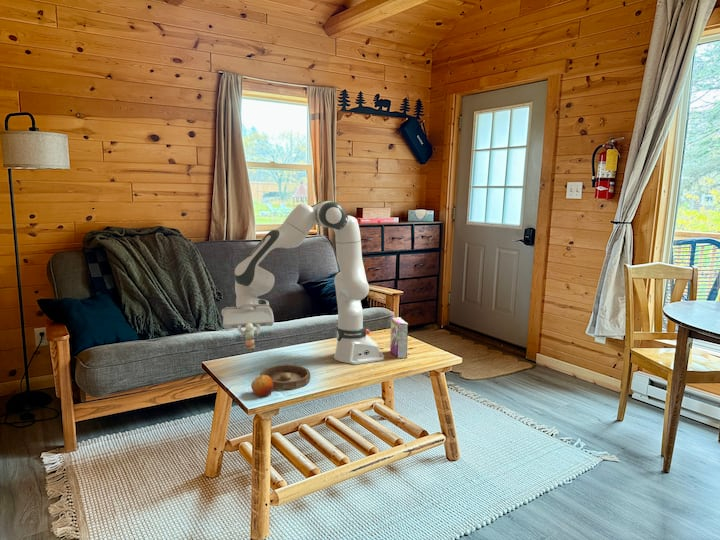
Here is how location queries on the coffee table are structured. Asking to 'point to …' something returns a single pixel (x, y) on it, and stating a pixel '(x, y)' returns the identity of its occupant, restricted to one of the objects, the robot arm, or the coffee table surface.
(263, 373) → the walnut tray
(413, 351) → the coffee table surface
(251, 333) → the bead column
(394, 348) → the candy bar box
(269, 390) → the fruit
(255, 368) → the coffee table surface
